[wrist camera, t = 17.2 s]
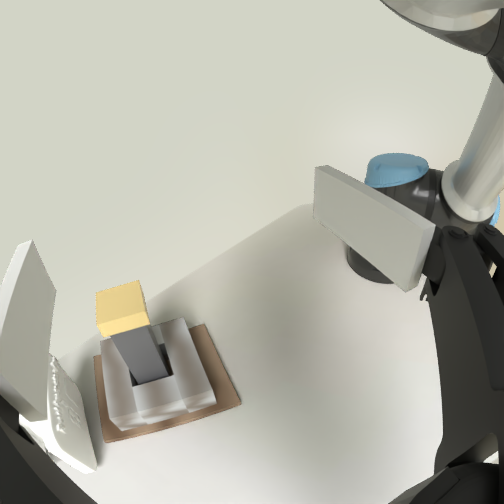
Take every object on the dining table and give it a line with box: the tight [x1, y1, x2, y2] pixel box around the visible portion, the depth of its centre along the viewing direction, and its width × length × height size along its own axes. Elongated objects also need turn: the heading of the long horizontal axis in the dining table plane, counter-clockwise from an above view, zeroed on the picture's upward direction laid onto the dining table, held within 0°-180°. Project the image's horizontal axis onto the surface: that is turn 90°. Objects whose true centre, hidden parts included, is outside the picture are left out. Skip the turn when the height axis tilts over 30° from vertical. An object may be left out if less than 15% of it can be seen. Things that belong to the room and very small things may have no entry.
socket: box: [94, 317, 241, 443], centre depth 39 cm, size 20×16×5 cm
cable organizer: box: [19, 353, 97, 474], centre depth 27 cm, size 15×11×12 cm
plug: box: [96, 280, 171, 385], centre depth 35 cm, size 6×6×16 cm
